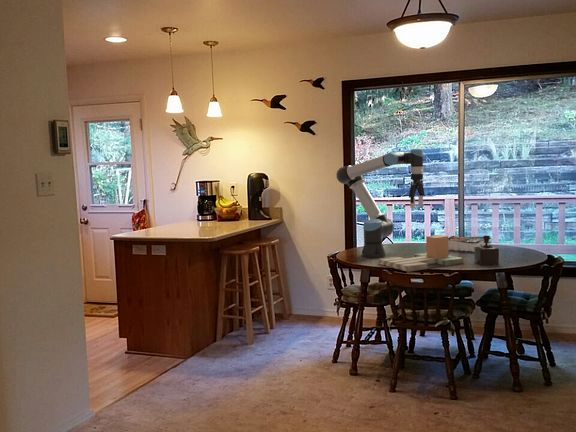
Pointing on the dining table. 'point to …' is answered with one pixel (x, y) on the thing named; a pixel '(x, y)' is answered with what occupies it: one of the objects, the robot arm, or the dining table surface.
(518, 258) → the dining table surface
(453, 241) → the food packaging
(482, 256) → the brown manual coffee grinder
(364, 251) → the robot arm
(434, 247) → the terracotta block
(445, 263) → the board
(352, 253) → the dining table surface
